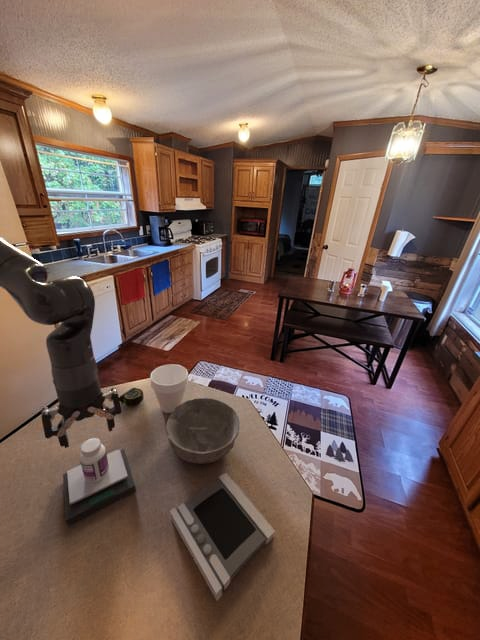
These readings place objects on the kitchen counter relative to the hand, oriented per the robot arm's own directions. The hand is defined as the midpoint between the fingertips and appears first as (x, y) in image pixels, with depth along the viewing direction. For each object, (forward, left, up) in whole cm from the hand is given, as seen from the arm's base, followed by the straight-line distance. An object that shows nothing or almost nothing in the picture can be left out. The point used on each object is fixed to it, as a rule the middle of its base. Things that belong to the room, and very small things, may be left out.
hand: (89, 436), depth 57 cm
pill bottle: (0, 0, -13) cm, 13 cm away
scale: (0, -1, -16) cm, 16 cm away
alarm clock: (+21, -25, -16) cm, 36 cm away
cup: (+25, +17, -16) cm, 34 cm away
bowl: (+27, -4, -16) cm, 32 cm away
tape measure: (+14, +26, -16) cm, 34 cm away
